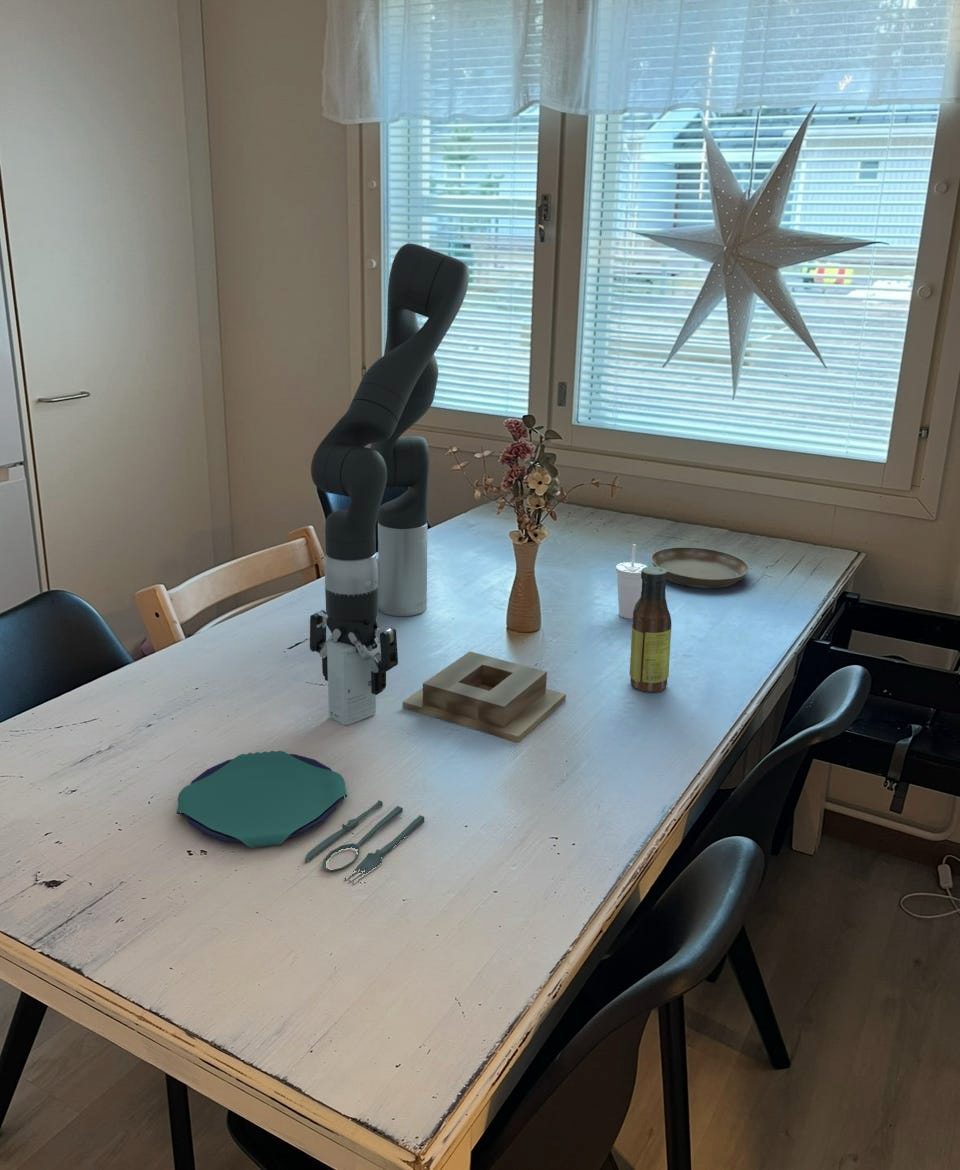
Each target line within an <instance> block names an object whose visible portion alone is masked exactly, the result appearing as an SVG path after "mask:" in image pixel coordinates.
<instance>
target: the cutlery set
mask: <svg viewBox="0 0 960 1170" xmlns="http://www.w3.org/2000/svg"><path fill="white" fill-rule="evenodd" d="M343 796H345V798H344V797H343ZM342 797H343V798H344V799H347V797H348V793H347V790H346V782H345V779H344V777H343V776H342V775H341V774H340V773H338V772H336V771H334V770H332V769H331V767H329V766H327V765H325V764H323V763H322V762H320V761H318V760H316V759H314V758H310V757H306V756H303V755H299V754H294V753H287V752H285V751H283V750H278V751H277V750H276V751H274V750H270V751H262V752H259V751H256V752H254V753H253V752H248V753H246V754H245V753H241V754H239V755H237V756H236V757H234V758H231V759H227V760H226V761H223V762H220V763H217V764H216V765H213V766H211V767H210V768H208V769H206V770H204V772H203V771H202V773H201V774H199V775H198V776H196V778H194V779H193V780H192V781H191V782H190V784H188V785H186V786H184V787H183V788H182V789H181V790H180V791H179V794H178V797H177V809H176V814H177V815H180V812H181V814H184V816H185V818H186V820H187V822H188V824H189V825H191V826H192V827H194V828H195V829H196V830H198V831H199V832H201V833H202V834H203V835H206V836H209V837H212V838H216V839H218V840H222V841H225V842H230V843H231V842H232V843H243V844H244V845H246V846H247V847H249V848H253V849H254V848H256V847H257V848H258V847H265V846H269V847H270V846H280V845H281V844H282V843H283V842H285V840H286V839H288V838H291V837H295V836H298V835H302V834H304V833H306V832H307V831H309V830H312V829H313V828H315V827H317V826H318V825H321V824H322V823H324V821H326V820H327V819H328V818H329V817H330V816H331V814H333V813H334V811H336V810H337V808H338V805H339V804H340V800H341V798H342ZM380 806H381V807H383V806H384V805H383V801H382V800H379V799H378V800H377V802H376V803H375V804H374V805H372V806H371V807H370V808H368V810H366V811H364V812H362V813H361V814H360V815H358V816H357V817H356V818H351V819H348V821H347V823H346V824H344V823H342V829H340V830H337V831H336V832H334V833H333V834H331V835H330V836H328V837H326V838H325V839H324V840H323V841H321V842H320V843H319V844H317V845H315V846H314V847H313V848H311V850H310V851H308V852H307V854H306V855H305V858H304V861H305V863H306V862H307V861H308V860H310V859H311V858H312V859H314V858H315V857H316V856H317V855H319V854H320V853H322V852H323V851H324V850H325V849H326V848H328V847H329V846H330V845H331V844H333V843H334V842H335V840H336V841H337V840H338V839H339V838H341V837H342V836H343V835H345V834H347V832H350V833H351V830H352V829H355V828H356V827H357V826H358V824H359V822H360V821H361V820H363V819H364V818H365V817H366V816H368V815H369V814H370V813H371V812H373V811H374V810H375V809H377V808H379V807H380ZM403 811H404V808H403V807H400V806H399V805H397V806H396V807H394V808H393V809H392V810H391V811H390V812H389V813H388V814H386V816H384V817H383V818H382V819H380V821H378V822H377V823H376V824H375V825H374V826H373V827H372V828H371V829H370V830H369V831H368V832H367V833H366V834H365V835H364V836H363V837H362V838H361V839H360V840H359V841H358V842H357V843H355V842H353V843H349V844H341V845H339V846H338V847H336V848H334V849H333V850H331V851H330V852H329V853H328V854H327V855H326V856H325V857H324V858H323V860H322V866H321V868H322V869H324V870H326V871H329V872H332V870H330V869H328V868H326V861H327V860H328V859H329V858H330V857H331V855H332V854H333V853H335V852H338V851H339V850H341V849H346V848H351V847H352V848H355V849H358V851H357V852H358V855H357V856H356V855H355V858H354V859H353V860H352V861H351V862H349V863H347V864H346V865H344V866H342V867H339V868H333V869H334V870H333V871H337V869H338V870H343V869H344V867H345V868H347V867H348V866H350V865H352V864H354V862H355V861H356V859H358V857H359V855H360V849H361V848H360V847H361V846H362V845H364V843H366V842H367V841H368V840H369V839H370V838H372V836H374V835H375V834H376V833H377V832H378V831H379V830H381V828H383V827H384V826H386V825H388V823H390V822H391V821H392V820H394V819H395V818H396V817H398V816H399V815H401V814H402V813H403ZM422 823H423V824H424V823H425V816H424V815H421V814H420V815H418V816H417V817H416V818H415V819H414V820H413V821H411V823H410V824H408V826H407V827H405V828H404V830H402V831H401V832H400V833H399V834H398V835H397V836H396V837H395V838H393V840H392V841H390V842H388V843H387V844H386V845H384V846H383V847H382V848H381V849H378V848H376V850H375V853H374V852H368V853H367V855H366V856H365V858H363V860H361V862H360V863H359V864H358V865H357V866H356V867H355V868H356V869H355V868H354V869H353V870H355V871H358V870H359V869H360V871H359V872H358V873H362V872H361V871H364V870H365V872H363V874H366V873H368V872H369V871H371V870H372V869H373V868H375V867H377V866H378V865H379V864H380V863H382V862H383V859H381V857H383V858H384V856H385V855H387V853H388V851H389V850H390V851H391V850H393V849H394V848H393V847H394V846H395V845H397V844H398V843H399V842H400V841H401V840H403V839H404V837H406V836H408V835H409V834H410V833H411V832H412V831H413V832H414V831H415V830H416V829H417V828H419V827H418V826H422V825H423V824H422ZM413 832H412V833H413ZM412 833H411V834H412ZM411 834H410V835H411ZM410 835H409V836H410ZM409 836H408V837H409ZM406 838H407V837H406ZM404 840H405V839H404ZM404 840H403V841H404ZM361 844H362V845H361ZM399 844H400V843H399ZM399 844H398V845H399ZM360 845H361V846H360ZM398 845H397V846H398ZM327 846H328V847H327ZM392 848H393V849H392ZM323 849H324V850H323ZM322 850H323V851H322ZM390 851H389V852H390ZM319 852H320V853H319ZM318 853H319V854H318ZM384 854H385V855H384ZM315 855H316V856H315ZM314 856H315V857H314ZM313 857H314V858H313ZM312 859H311V860H312ZM311 860H310V861H311ZM354 860H355V861H354ZM308 862H309V861H308ZM308 862H307V863H308ZM351 863H352V864H351ZM349 864H350V865H349ZM346 866H347V867H346ZM342 868H343V869H342ZM377 868H378V867H377ZM353 872H354V871H353ZM358 873H356V874H358ZM352 875H353V874H352ZM353 876H354V875H353ZM344 879H345V880H344ZM344 879H343V880H344V881H347V880H346V877H344ZM348 881H350V879H348ZM353 883H354V881H352V884H353Z"/></svg>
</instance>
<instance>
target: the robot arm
mask: <svg viewBox="0 0 960 1170" xmlns="http://www.w3.org/2000/svg"><path fill="white" fill-rule="evenodd" d="M469 282H470V269H469V266H468V265H467V263H466V262H464V261H462V260H461V259H458V258H457V257H453V256H451V255H448V254H445V253H443V252H440V251H437V250H434V249H432V248H430V247H426V246H424V245H421V244H416V243H406V244H403V245H402V246H401V247H400V248H399V249H398V251H397V252H396V254H395V256H394V258H393V260H392V264H391V267H390V273H389V276H388V285H387V289H388V290H387V311H386V312H387V313H386V316H387V319H386V321H387V323H386V338H385V346H384V353H383V355H382V356H381V357H380V358H378V359H377V360H376V361H375V362H374V363H373V364H372V365H371V366H369V368H368V370H367V371H365V373H364V375H363V377H362V379H361V380H360V383H359V385H358V387H357V389H356V391H355V393H354V396H353V399H352V401H351V403H350V405H349V406H348V407H349V408H348V409H347V411H346V412H345V414H343V416H342V417H340V419H339V420H337V422H336V423H335V425H333V427H332V428H331V429H330V431H329V432H328V433H327V434H326V435H325V437H324V438H323V439H322V441H321V442H320V443H319V445H318V446H317V448H316V450H315V452H314V454H313V456H312V460H311V465H310V475H311V479H312V483H313V484H314V485H315V487H316V488H317V489H318V490H320V491H322V492H325V493H328V494H332V495H338V496H342V497H343V496H344V497H349V505H348V509H340V510H335V511H333V512H331V513H329V514H328V515H327V517H326V520H325V523H324V525H325V526H324V527H325V528H324V532H325V533H324V535H325V564H324V590H325V591H324V592H325V593H324V594H325V610H324V609H322V610H320V611H316V612H315V613H314V614H311V615H310V616H309V649H310V651H311V652H313V653H315V652H317V653H318V654H319V657H320V658H321V666H322V668H321V669H322V675H323V677H324V681H326V682H328V666H327V643H328V642H333V643H336V642H341V643H345V644H348V645H352V646H354V647H356V652H357V653H358V652H359V653H360V655H361V657H362V658H363V660H366V661H367V662H368V664H369V666H370V667H371V669H372V671H371V693H372V694H375V695H376V696H377V695H379V694H381V693H382V692H383V691H384V690H385V689H386V687H387V672H389V671H390V670H391V669H393V668H395V667H396V666H398V665H399V657H398V654H399V653H398V638H397V630H396V628H395V627H393V626H390V627H389V628H382V627H379V625H378V622H377V617H378V613H379V611H381V612H382V613H383V614H386V615H389V616H396V617H409V616H410V617H411V616H416V615H419V614H421V613H424V612H425V611H426V610H427V606H428V605H427V603H428V601H427V600H428V593H427V592H428V510H429V509H428V507H429V506H428V505H429V483H430V471H431V469H430V468H431V467H430V466H431V455H430V447H429V444H428V442H427V440H426V438H424V437H423V436H419V435H407V436H404V435H403V434H404V433H405V432H406V431H408V429H410V428H411V427H413V426H414V424H415V423H417V422H418V421H419V420H420V419H421V418H423V417H424V415H425V414H426V413H427V412H428V411H429V409H430V408H431V406H432V405H433V402H434V399H435V394H436V390H437V384H438V380H439V366H438V362H437V359H436V357H435V353H436V351H437V350H438V348H439V346H440V344H441V343H442V341H443V340H444V337H445V336H446V334H447V333H448V331H449V330H450V327H451V325H452V324H453V322H454V321H455V319H456V317H457V315H458V313H459V312H460V310H461V307H462V306H463V303H464V300H465V297H466V295H467V291H468V287H469ZM417 315H420V316H422V317H424V318H425V317H426V318H427V319H426V321H425V322H424V324H423V326H422V327H421V326H420V324H419V321H418V318H417ZM402 435H403V436H402ZM368 445H370V447H367V446H368ZM386 488H390V489H392V488H407V489H406V491H405V492H404V493H402V494H401V495H400V496H398V497H396V498H394V499H392V500H389V501H387V502H385V503H383V504H382V500H383V498H384V497H383V496H384V493H385V489H386ZM376 524H377V525H376ZM376 526H377V535H376ZM376 536H377V537H376ZM376 538H377V539H376ZM376 540H377V541H378V542H377V544H376ZM376 545H378V547H376ZM376 548H377V549H376ZM376 551H377V553H378V554H377V553H376ZM377 556H378V558H377ZM327 628H328V630H329V631H330V636H329V637H328V638H327ZM370 645H371V647H372V651H368V650H367V648H368V647H369V646H370ZM374 656H375V658H374Z"/></svg>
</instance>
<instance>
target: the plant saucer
mask: <svg viewBox="0 0 960 1170" xmlns="http://www.w3.org/2000/svg"><path fill="white" fill-rule="evenodd" d="M650 561H651V563H652V564H653V567H661V568H664V569H666V570H667V580H668V581H670V582H673V583H675V584H678V585H683V586H685V585H686V586H685V587H691V588H698V587H699V589H719V588H727V587H730V586H733V585H735V584H736V583H738V582H739V581H741V580H743V578H744V577H746V575H747V574H748V573H749V572H750V566H749V565H748V564H749V563H747V562H746V561H745V560H743V559H742V558H740V557H738V556H736V555H733V554H730V553H727V552H725V551H719V550H715V549H711V548H703V547H689V546H684V547H683V546H681V547H680V546H679V547H668V548H663V549H659V550H657V551H655V552H653V554H651V557H650Z"/></svg>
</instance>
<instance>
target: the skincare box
mask: <svg viewBox="0 0 960 1170" xmlns="http://www.w3.org/2000/svg"><path fill="white" fill-rule="evenodd" d="M367 650H368V651H372V647H371V645H370V646H369V647H368V648H367ZM374 658H375V656H374ZM375 659H376V658H375ZM327 666H328V681H327V693H328V697H327V698H328V716H329V718H331V719H332V720H334V719H335V720H334V721H336V722H337V721H338V723H339V722H340V723H339V724H341V725H343V726H348V725H351V724H354V723H356V722H360V721H362V720H365V719H367V718H370V717H372V716H374V715H376V713H377V701H376V700H377V699H376V698H377V695H375V694H372V693H371V671H372V669H371V667H370V666H369V664H368V662H367V661H366V660H363V658H362V657H361V655H360V653H359V652H358V653H357V652H356V647H354V646H352V645H348V644H345V643H341V642H336V643H333V642H328V643H327Z"/></svg>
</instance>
